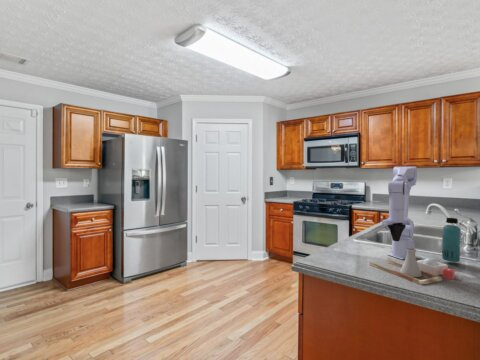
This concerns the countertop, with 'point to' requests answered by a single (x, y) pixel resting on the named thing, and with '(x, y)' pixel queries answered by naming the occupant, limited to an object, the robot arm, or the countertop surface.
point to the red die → (448, 273)
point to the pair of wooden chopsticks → (432, 277)
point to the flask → (411, 264)
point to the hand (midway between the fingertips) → (395, 240)
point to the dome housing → (432, 268)
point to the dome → (430, 262)
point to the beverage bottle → (451, 241)
